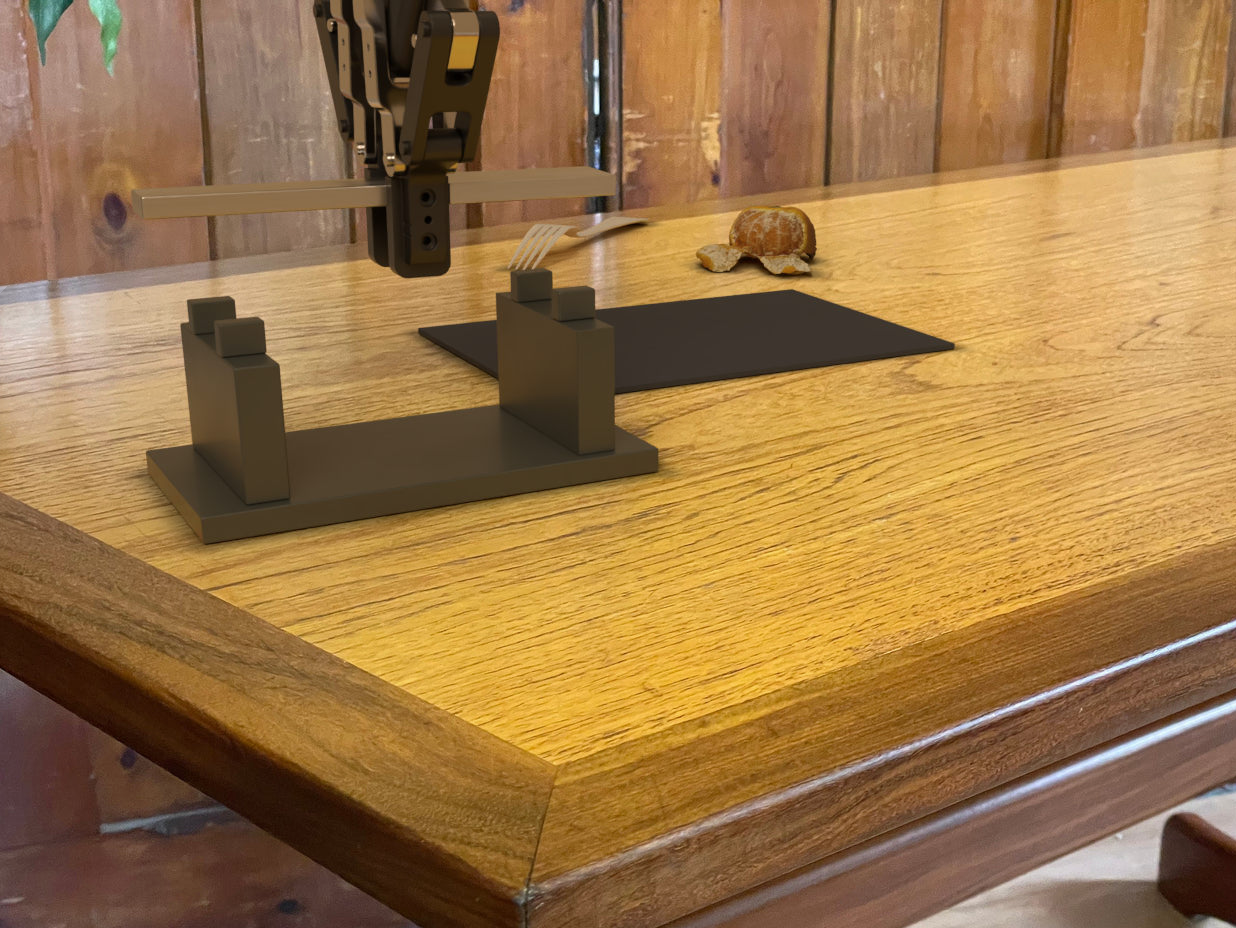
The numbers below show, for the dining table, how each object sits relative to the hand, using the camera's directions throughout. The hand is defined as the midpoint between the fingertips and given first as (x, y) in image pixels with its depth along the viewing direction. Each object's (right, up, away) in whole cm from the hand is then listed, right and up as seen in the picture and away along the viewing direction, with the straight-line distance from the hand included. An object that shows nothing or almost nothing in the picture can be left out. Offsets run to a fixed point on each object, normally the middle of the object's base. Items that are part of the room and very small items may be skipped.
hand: (409, 268), depth 62 cm
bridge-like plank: (-1, +2, -1) cm, 3 cm away
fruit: (+14, +8, +45) cm, 48 cm away
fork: (+2, +10, +52) cm, 53 cm away
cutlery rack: (-1, -8, +2) cm, 8 cm away
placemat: (+10, 0, +24) cm, 26 cm away
